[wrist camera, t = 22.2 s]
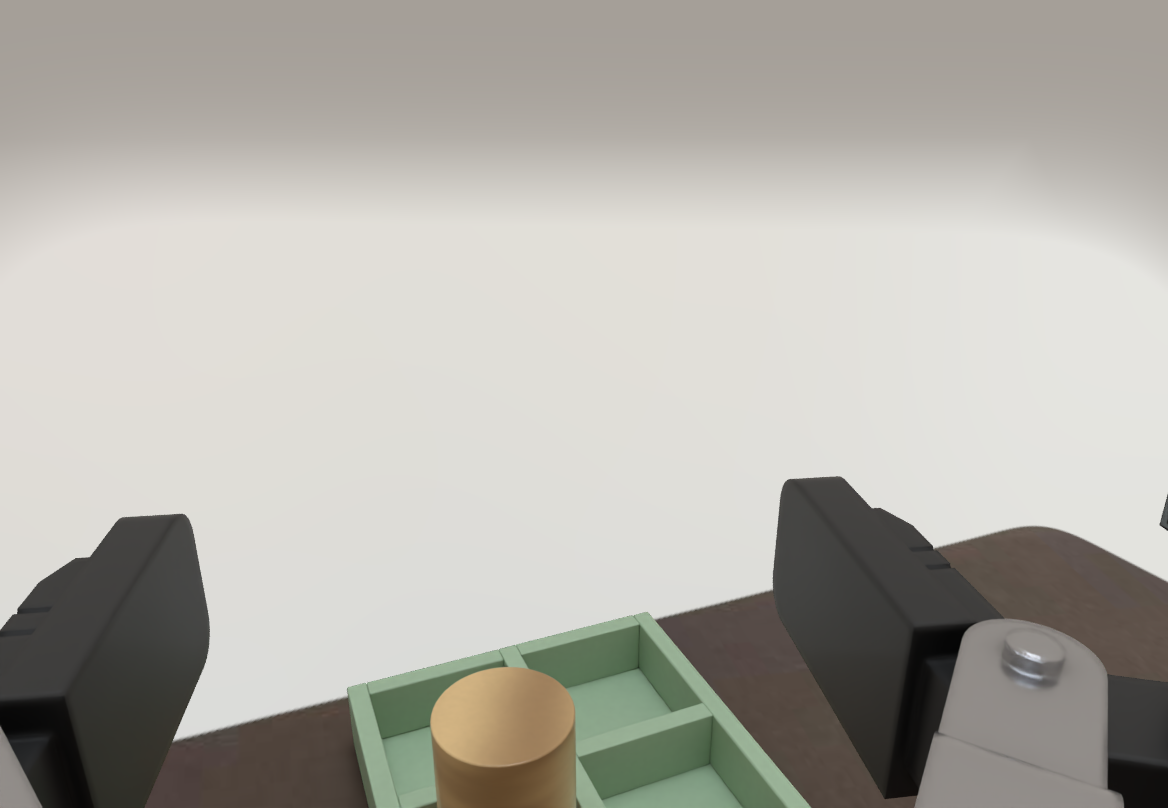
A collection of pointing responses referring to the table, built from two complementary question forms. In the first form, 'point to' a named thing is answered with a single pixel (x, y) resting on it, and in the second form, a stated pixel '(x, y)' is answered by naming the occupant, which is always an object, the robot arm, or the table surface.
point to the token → (504, 742)
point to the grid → (585, 725)
